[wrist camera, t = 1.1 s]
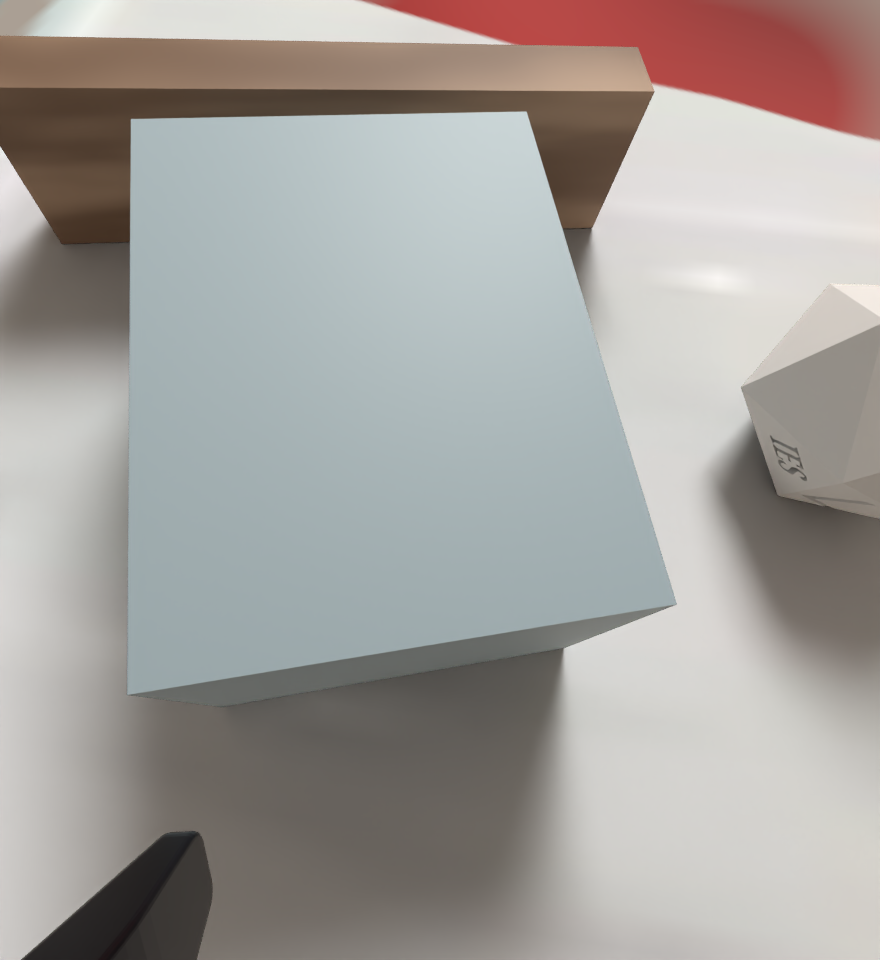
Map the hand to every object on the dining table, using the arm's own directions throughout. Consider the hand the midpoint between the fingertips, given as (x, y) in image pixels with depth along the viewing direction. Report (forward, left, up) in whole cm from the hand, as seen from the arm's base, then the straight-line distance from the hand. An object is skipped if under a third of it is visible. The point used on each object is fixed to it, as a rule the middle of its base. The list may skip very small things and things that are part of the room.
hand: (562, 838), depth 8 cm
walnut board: (+24, +1, -14) cm, 28 cm away
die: (+10, -18, -14) cm, 25 cm away
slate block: (+11, +1, -14) cm, 18 cm away
